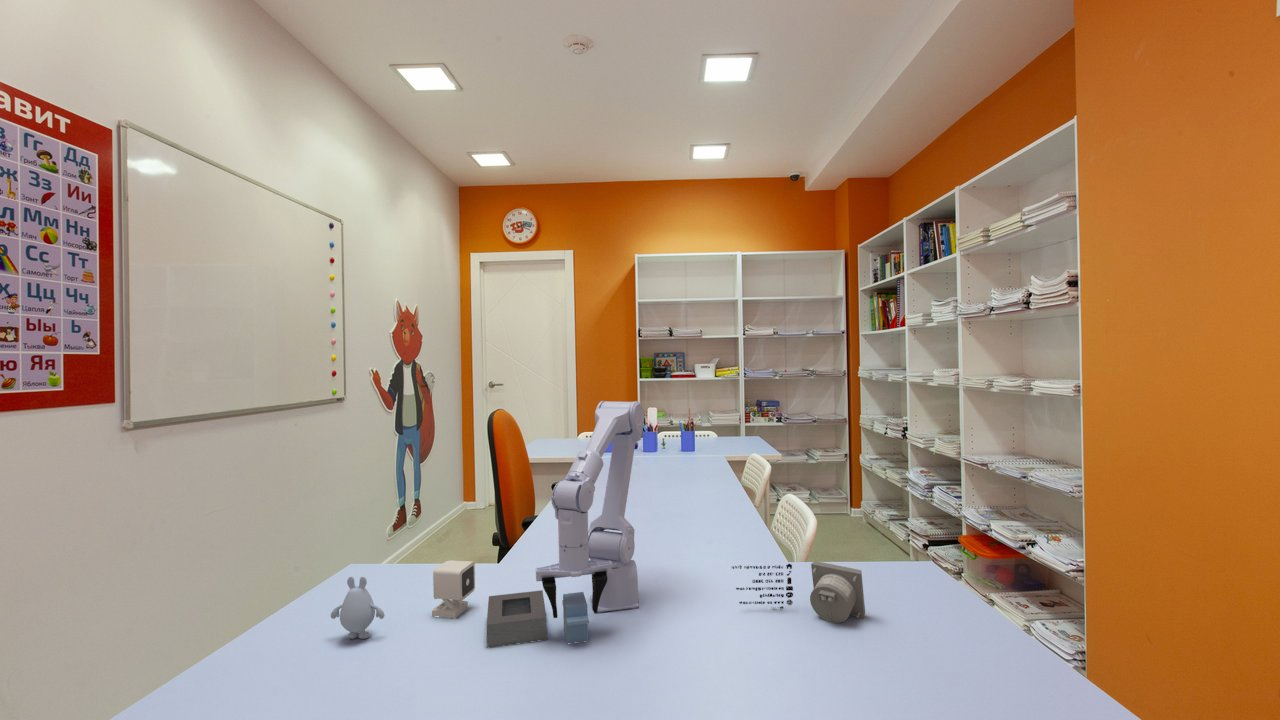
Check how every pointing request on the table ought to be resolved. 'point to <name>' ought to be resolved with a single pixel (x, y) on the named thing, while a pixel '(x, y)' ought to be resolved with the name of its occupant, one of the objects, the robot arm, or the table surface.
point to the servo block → (575, 617)
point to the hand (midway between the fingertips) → (575, 613)
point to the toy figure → (357, 610)
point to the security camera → (453, 587)
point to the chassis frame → (516, 618)
